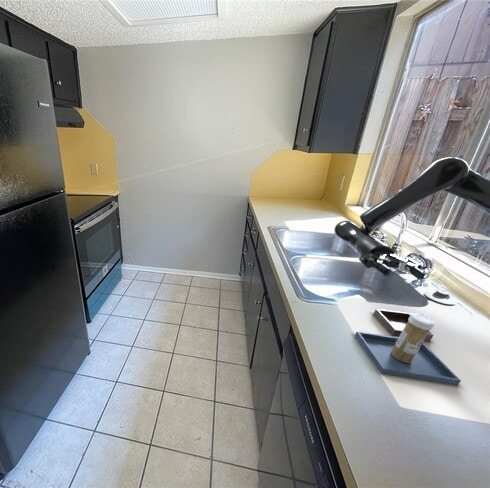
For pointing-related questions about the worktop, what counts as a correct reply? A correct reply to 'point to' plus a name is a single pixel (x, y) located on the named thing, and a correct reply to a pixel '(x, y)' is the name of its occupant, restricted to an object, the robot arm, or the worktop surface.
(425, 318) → the sprinkles bottle
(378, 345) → the tray
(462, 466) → the worktop surface
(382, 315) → the bin
